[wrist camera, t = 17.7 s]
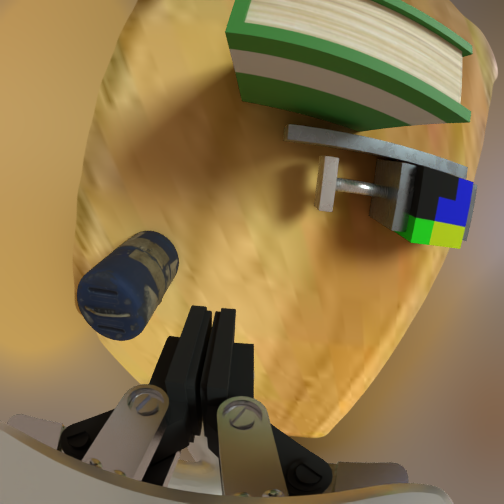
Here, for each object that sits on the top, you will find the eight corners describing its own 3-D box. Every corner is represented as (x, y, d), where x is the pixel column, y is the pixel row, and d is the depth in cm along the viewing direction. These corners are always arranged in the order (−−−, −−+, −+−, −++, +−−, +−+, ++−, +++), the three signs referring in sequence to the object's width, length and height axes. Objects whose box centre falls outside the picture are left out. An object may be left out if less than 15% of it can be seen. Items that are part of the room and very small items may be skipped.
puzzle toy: (436, 173, 37) (473, 182, 28) (426, 229, 41) (459, 248, 31) (389, 161, 37) (424, 166, 28) (380, 222, 40) (410, 242, 31)
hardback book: (367, 88, 33) (472, 45, 10) (359, 131, 35) (469, 122, 13) (252, 56, 32) (251, -44, 9) (242, 101, 34) (225, 32, 12)
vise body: (439, 226, 40) (466, 240, 33) (277, 205, 40) (282, 218, 32) (450, 164, 36) (479, 169, 29) (284, 127, 36) (292, 121, 28)
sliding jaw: (381, 217, 40) (405, 232, 32) (309, 208, 40) (321, 222, 32) (390, 162, 37) (417, 166, 29) (315, 148, 36) (330, 147, 29)
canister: (175, 289, 45) (139, 361, 28) (124, 272, 44) (71, 333, 27) (186, 237, 42) (145, 295, 25) (132, 220, 41) (67, 265, 24)
